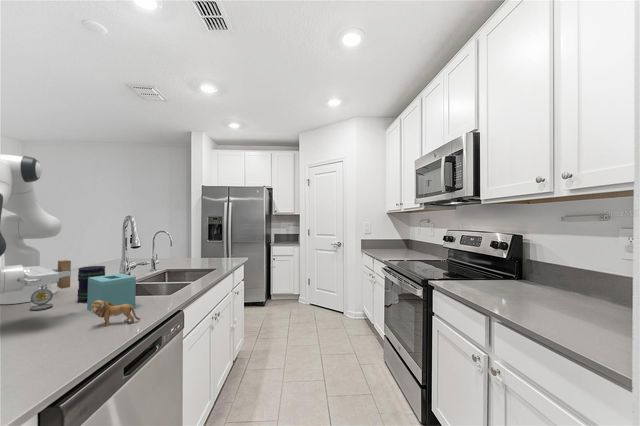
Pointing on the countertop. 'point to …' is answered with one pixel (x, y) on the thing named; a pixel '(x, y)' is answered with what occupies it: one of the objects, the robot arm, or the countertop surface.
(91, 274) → the storage jar
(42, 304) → the pocket watch
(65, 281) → the block
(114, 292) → the money box
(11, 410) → the countertop surface
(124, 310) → the lion figurine
